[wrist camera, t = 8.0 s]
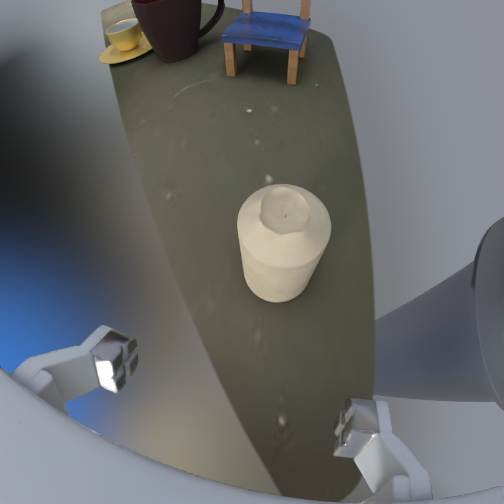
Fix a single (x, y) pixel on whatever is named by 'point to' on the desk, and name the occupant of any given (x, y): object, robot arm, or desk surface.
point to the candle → (281, 240)
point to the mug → (173, 25)
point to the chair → (268, 35)
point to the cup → (125, 42)
